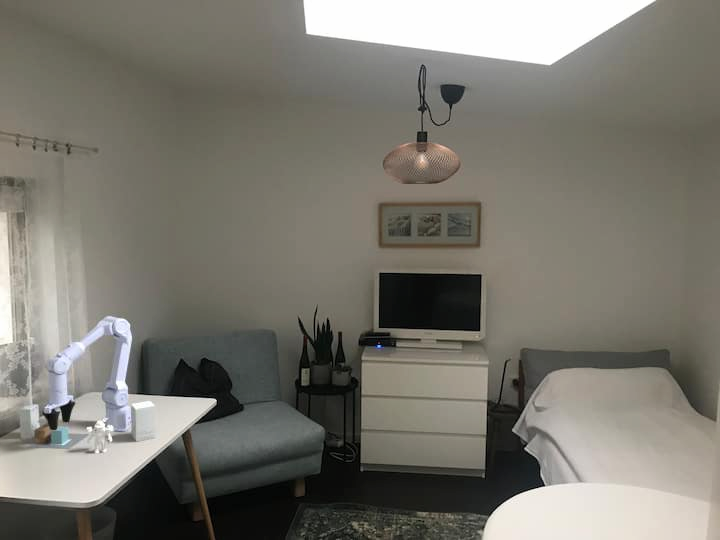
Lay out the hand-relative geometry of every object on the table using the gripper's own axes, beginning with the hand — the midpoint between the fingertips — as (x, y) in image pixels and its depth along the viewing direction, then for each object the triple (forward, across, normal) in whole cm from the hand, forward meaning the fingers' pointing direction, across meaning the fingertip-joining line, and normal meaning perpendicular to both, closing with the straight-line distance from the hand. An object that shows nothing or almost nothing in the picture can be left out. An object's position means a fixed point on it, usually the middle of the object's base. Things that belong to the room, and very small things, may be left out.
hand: (60, 425), depth 209 cm
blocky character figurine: (+7, +5, +18) cm, 20 cm away
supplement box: (+8, -10, +26) cm, 29 cm away
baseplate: (+7, -1, -2) cm, 7 cm away
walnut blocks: (+6, -2, -6) cm, 9 cm away
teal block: (+6, 0, 0) cm, 6 cm away
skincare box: (+7, -5, -15) cm, 18 cm away
